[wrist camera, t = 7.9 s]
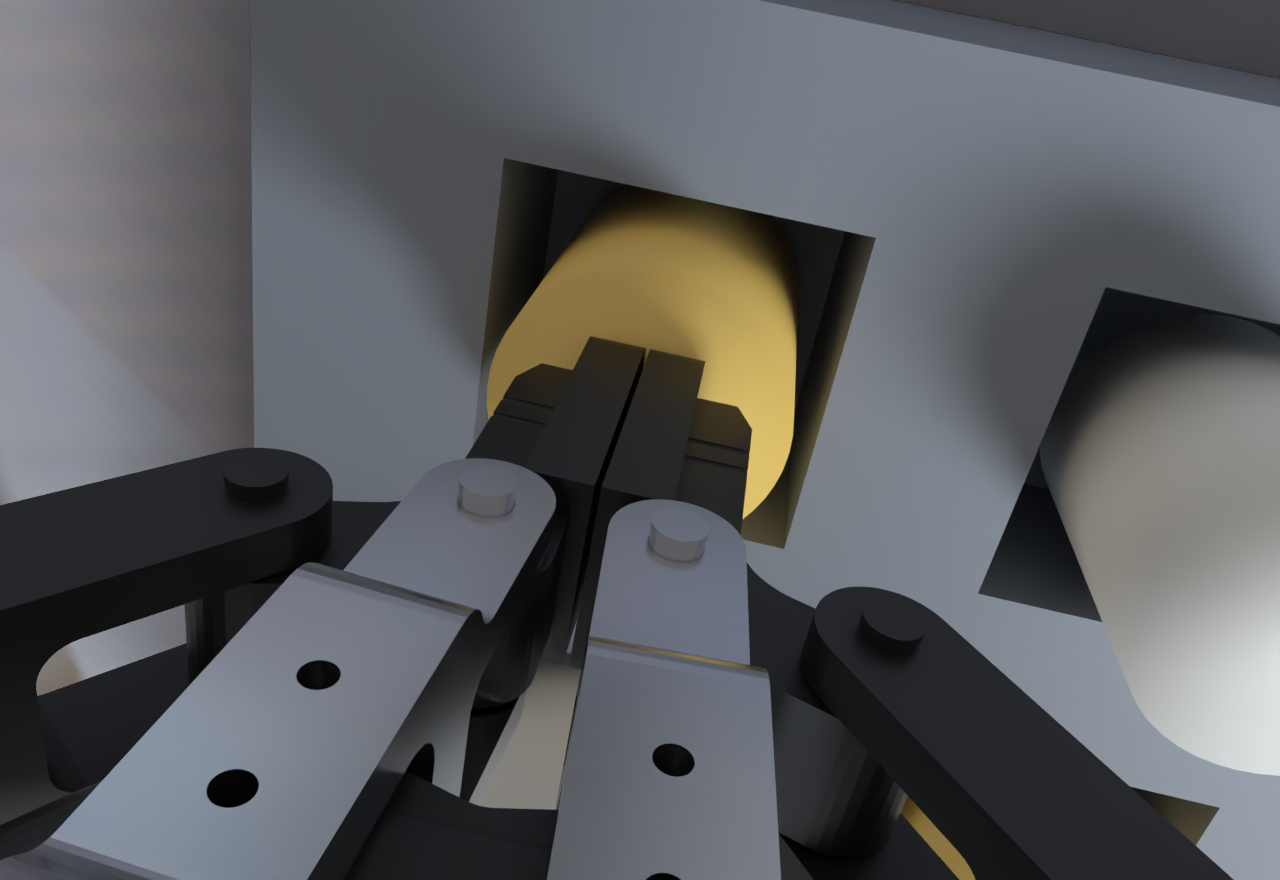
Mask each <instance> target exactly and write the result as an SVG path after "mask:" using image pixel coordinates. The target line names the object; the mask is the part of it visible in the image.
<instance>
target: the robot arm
mask: <svg viewBox="0 0 1280 880" xmlns="http://www.w3.org/2000/svg"><path fill="white" fill-rule="evenodd" d="M645 353H646V348H643V347H638V346H634V345H629V344H625V343H620V342H616V341H611V340H607V339H602V338H598V337H593V336H590V337H589V339H588V341H587V343H586V345H585V347H584V349H583V351H582V353H581V355H580V357H579V359H578V361H577V363H576V365H575V367H574V369H573V370H570V369H565V368H561V367H556V366H552V365H547V364H543V363H541V364H539V365H537V366H535V367H533V368H531V369H529V370H527V371H525V372H523V373H521V374H519V375H517V376H515V378H514V380H513V381H512V383H511V384H510V386H509V388H508V389H507V391H506V393H505V394H504V396H503V400H501V401H500V402H499V404H498V406H497V407H496V409H495V411H494V414H493V416H491V417H490V419H489V420H488V422H487V424H486V425H485V427H484V429H483V430H482V432H481V434H480V435H479V437H478V438H477V440H476V442H475V443H474V445H473V447H472V448H471V450H470V452H469V453H468V455H467V456H466V458H465V459H460V460H454V461H450V462H446V463H443V464H441V465H438V466H436V467H434V468H432V469H431V470H429V471H428V472H427V473H425V474H424V475H423V476H422V477H421V478H420V480H419V481H418V482H417V483H416V484H415V486H414V487H413V488H412V489H411V490H410V492H409V493H408V494H407V495H406V496H405V497H404V499H403V500H402V501H393V502H357V501H333V483H332V479H331V477H330V475H329V473H328V472H327V471H326V470H325V468H324V467H322V466H321V465H320V464H319V463H317V462H316V461H314V460H312V459H310V458H308V457H306V456H303V455H301V454H298V453H294V452H290V451H286V450H280V449H273V448H243V449H235V450H230V451H224V452H220V453H216V454H212V455H208V456H203V457H199V458H195V459H191V460H187V461H183V462H179V463H174V464H170V465H166V466H162V467H158V468H154V469H150V470H145V471H141V472H137V473H133V474H129V475H125V476H121V477H116V478H112V479H108V480H104V481H100V482H96V483H91V484H87V485H83V486H79V487H75V488H71V489H67V490H62V491H58V492H54V493H50V494H46V495H42V496H38V497H33V498H29V499H25V500H21V501H17V502H13V503H8V504H4V505H0V880H959V879H958V877H957V876H956V875H955V874H954V873H953V872H952V871H951V869H950V868H949V867H948V866H947V865H946V864H945V863H944V862H943V860H942V859H941V858H940V857H939V856H938V855H937V854H936V852H935V851H934V850H933V849H932V848H931V847H930V846H929V844H928V843H927V842H926V841H925V840H924V839H923V838H922V837H921V835H920V834H919V833H918V832H917V831H916V830H915V829H914V827H913V826H912V825H911V824H910V823H909V822H908V821H907V819H906V818H905V817H904V816H903V815H902V814H901V813H900V812H901V810H902V807H903V805H904V803H905V800H906V798H907V796H909V798H910V799H911V800H912V801H913V802H914V803H915V804H916V805H917V806H918V808H919V809H920V810H921V811H922V812H923V813H924V814H925V815H926V816H927V818H928V819H929V820H930V821H931V822H932V823H933V824H934V825H935V826H936V828H937V829H938V830H939V831H940V832H941V833H942V834H943V835H944V836H945V838H946V839H947V840H948V841H949V842H950V843H951V844H952V845H953V846H954V848H955V849H956V850H957V851H958V852H959V853H960V854H961V856H962V857H963V858H964V859H965V861H966V862H967V864H968V866H969V867H970V869H971V871H972V873H973V875H974V877H975V880H1234V879H1232V878H1231V877H1230V876H1229V875H1228V874H1227V873H1226V872H1225V871H1224V870H1222V869H1221V868H1220V867H1219V866H1218V865H1217V864H1216V863H1215V862H1213V861H1212V860H1211V859H1210V858H1209V857H1208V856H1207V855H1206V854H1205V853H1203V852H1202V851H1201V850H1200V849H1199V848H1198V847H1197V846H1196V845H1194V844H1193V843H1192V842H1191V841H1190V840H1189V839H1188V838H1187V837H1186V836H1184V835H1183V834H1182V833H1181V832H1180V831H1179V830H1178V829H1177V828H1175V827H1174V826H1173V825H1172V824H1171V823H1170V822H1169V821H1168V820H1167V819H1165V818H1164V817H1163V816H1162V815H1161V814H1160V813H1159V812H1158V811H1157V810H1155V809H1154V808H1153V807H1152V806H1151V805H1150V804H1149V803H1148V802H1146V801H1145V800H1144V799H1143V798H1142V797H1141V796H1140V795H1139V794H1138V793H1136V792H1135V791H1134V790H1133V789H1132V788H1131V787H1130V786H1129V785H1127V784H1126V783H1125V782H1124V781H1123V780H1122V779H1121V778H1120V777H1119V776H1117V775H1116V774H1115V773H1114V772H1113V771H1112V770H1111V769H1110V768H1108V767H1107V766H1106V765H1105V764H1104V763H1103V762H1102V761H1101V760H1100V759H1098V758H1097V757H1096V756H1095V755H1094V754H1093V753H1092V752H1091V751H1089V750H1088V749H1087V748H1086V747H1085V746H1084V745H1083V744H1082V743H1081V742H1079V741H1078V740H1077V739H1076V738H1075V737H1074V736H1073V735H1072V734H1071V733H1069V732H1068V731H1067V730H1066V729H1065V728H1064V727H1063V726H1062V725H1060V724H1059V723H1058V722H1057V721H1056V720H1055V719H1054V718H1053V717H1052V716H1050V715H1049V714H1048V713H1047V712H1046V711H1045V710H1044V709H1043V708H1041V707H1040V706H1039V705H1038V704H1037V703H1036V702H1035V701H1034V700H1033V699H1031V698H1030V697H1029V696H1028V695H1027V694H1026V693H1025V692H1024V691H1022V690H1021V689H1020V688H1019V687H1018V686H1017V685H1016V684H1015V683H1014V682H1012V681H1011V680H1010V679H1009V678H1008V677H1007V676H1006V675H1005V674H1003V673H1002V672H1001V671H1000V670H999V669H998V668H997V667H996V666H995V665H993V664H992V663H991V662H990V661H989V660H988V659H987V658H986V657H985V656H983V655H982V654H981V653H980V652H979V651H978V650H977V649H976V648H974V647H973V646H972V645H971V644H970V643H969V642H968V641H967V640H966V639H964V638H963V637H962V636H961V635H960V634H959V633H958V632H957V631H955V630H954V629H953V628H952V627H951V626H950V625H949V624H948V623H947V622H945V621H944V620H943V619H942V618H941V617H940V616H938V615H937V614H936V613H935V612H933V611H932V610H930V609H929V608H927V607H926V606H924V605H922V604H921V603H919V602H917V601H915V600H913V599H911V598H908V597H906V596H903V595H901V594H898V593H895V592H892V591H888V590H884V589H879V588H874V587H863V586H860V587H847V588H841V589H838V590H835V591H832V592H831V593H829V594H827V595H825V596H824V597H823V598H822V599H821V600H820V601H819V603H818V605H817V607H816V609H815V608H813V607H811V606H809V605H807V604H804V603H802V602H800V601H798V600H796V599H793V598H791V597H790V596H788V595H786V594H784V593H782V592H780V591H778V590H777V589H775V588H774V587H772V586H770V585H769V584H768V583H767V582H765V581H764V580H763V579H762V578H760V577H759V576H758V575H757V574H756V573H755V572H754V571H753V570H752V568H751V567H750V566H749V564H748V563H747V556H746V547H745V543H744V541H743V539H742V537H741V528H742V519H743V510H744V500H745V491H746V482H747V471H748V464H749V453H750V445H751V436H752V428H751V427H750V425H749V423H748V422H747V420H746V419H745V417H744V416H743V414H742V412H741V411H740V409H739V408H738V407H737V406H732V405H728V404H723V403H719V402H714V401H710V400H705V399H701V398H697V396H698V392H699V388H700V383H701V379H702V374H703V370H704V365H705V361H702V360H698V359H693V358H689V357H684V356H680V355H675V354H671V353H666V352H662V351H657V350H653V349H650V351H649V354H648V357H647V359H646V362H645V365H644V360H645ZM643 366H644V368H643ZM183 604H185V620H186V639H187V643H186V644H183V645H180V646H178V647H175V648H172V649H169V650H166V651H164V652H161V653H158V654H155V655H152V656H150V657H147V658H144V659H141V660H138V661H136V662H133V663H130V664H127V665H125V666H122V667H119V668H116V669H113V670H111V671H108V672H105V673H102V674H99V675H97V676H94V677H91V678H88V679H85V680H83V681H80V682H77V683H74V684H71V685H69V686H66V687H63V688H60V689H57V690H55V691H52V692H49V693H46V694H43V695H40V696H37V692H36V681H37V677H38V674H39V672H40V670H41V668H42V667H43V665H44V664H45V663H46V661H47V660H48V659H49V658H50V657H51V656H52V655H53V654H54V653H55V652H57V651H58V650H60V649H61V648H63V647H64V646H66V645H68V644H69V643H71V642H73V641H76V640H78V639H81V638H84V637H87V636H90V635H93V634H96V633H99V632H102V631H105V630H108V629H111V628H114V627H117V626H120V625H123V624H126V623H129V622H132V621H135V620H138V619H141V618H144V617H147V616H150V615H153V614H156V613H159V612H162V611H165V610H168V609H171V608H174V607H177V606H180V605H183ZM576 622H577V624H576ZM575 625H576V629H575V635H574V640H573V645H572V651H571V656H570V662H569V667H573V668H577V669H581V673H580V679H579V684H578V689H577V694H576V699H575V704H574V709H573V714H572V720H571V725H570V730H569V736H568V741H567V747H566V752H565V758H564V763H563V769H562V774H561V780H560V785H559V791H558V796H557V802H556V808H555V810H550V809H513V808H489V807H483V806H480V804H481V801H482V799H483V797H484V795H485V793H486V791H487V789H488V786H489V784H490V782H491V780H492V778H493V776H494V774H495V771H496V769H497V767H498V765H499V763H500V761H501V759H502V757H503V754H504V752H505V750H506V748H507V746H508V744H509V742H510V739H511V737H512V735H513V733H514V731H515V729H516V727H517V724H518V722H519V720H520V718H521V715H522V712H523V709H524V702H525V696H526V690H527V689H528V687H529V686H530V685H531V683H532V681H533V679H534V677H535V674H536V671H537V668H538V665H539V663H540V660H542V661H546V662H550V663H555V664H559V665H563V662H564V659H565V656H566V653H567V650H568V647H569V644H570V640H571V637H572V634H573V631H574V628H575Z"/></svg>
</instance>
